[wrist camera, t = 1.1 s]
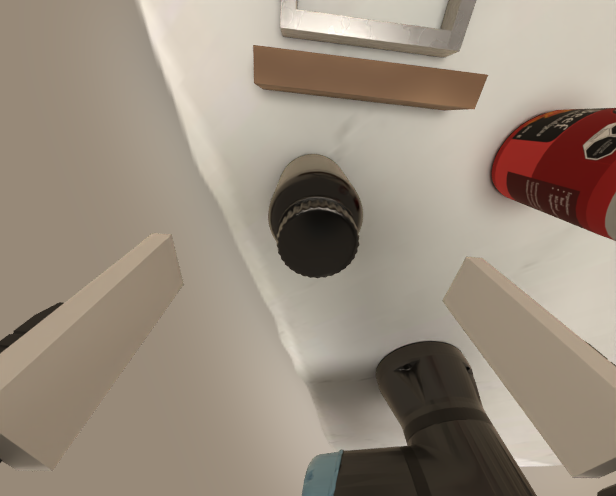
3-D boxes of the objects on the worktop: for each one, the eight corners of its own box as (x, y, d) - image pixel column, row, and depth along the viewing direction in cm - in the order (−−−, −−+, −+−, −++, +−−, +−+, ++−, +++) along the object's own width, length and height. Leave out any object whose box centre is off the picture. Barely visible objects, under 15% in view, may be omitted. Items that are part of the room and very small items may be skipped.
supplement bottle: (346, 215, 25) (375, 286, 15) (284, 222, 25) (270, 295, 15) (344, 148, 21) (381, 179, 11) (273, 157, 22) (245, 194, 11)
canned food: (594, 108, 20) (856, 100, 11) (548, 196, 24) (707, 248, 15) (508, 110, 20) (693, 104, 11) (476, 198, 24) (589, 251, 15)
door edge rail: (445, 110, 20) (474, 108, 16) (263, 89, 19) (254, 83, 16) (454, 82, 19) (488, 74, 15) (263, 58, 18) (253, 45, 15)
